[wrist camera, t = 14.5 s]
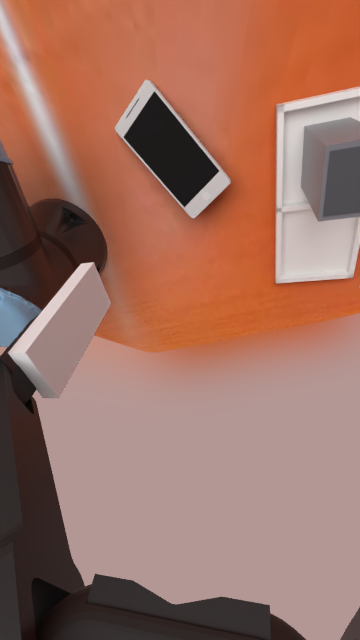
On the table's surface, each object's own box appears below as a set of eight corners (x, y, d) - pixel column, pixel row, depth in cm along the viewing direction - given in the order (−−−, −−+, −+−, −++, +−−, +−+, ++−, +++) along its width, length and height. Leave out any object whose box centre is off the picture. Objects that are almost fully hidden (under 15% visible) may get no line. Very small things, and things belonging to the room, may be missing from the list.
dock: (275, 277, 50) (282, 327, 40) (276, 104, 35) (289, 117, 26) (349, 271, 47) (377, 323, 38) (385, 80, 32) (445, 86, 23)
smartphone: (194, 218, 42) (192, 220, 42) (116, 129, 39) (113, 129, 39) (232, 181, 38) (231, 182, 38) (149, 78, 35) (146, 77, 35)
